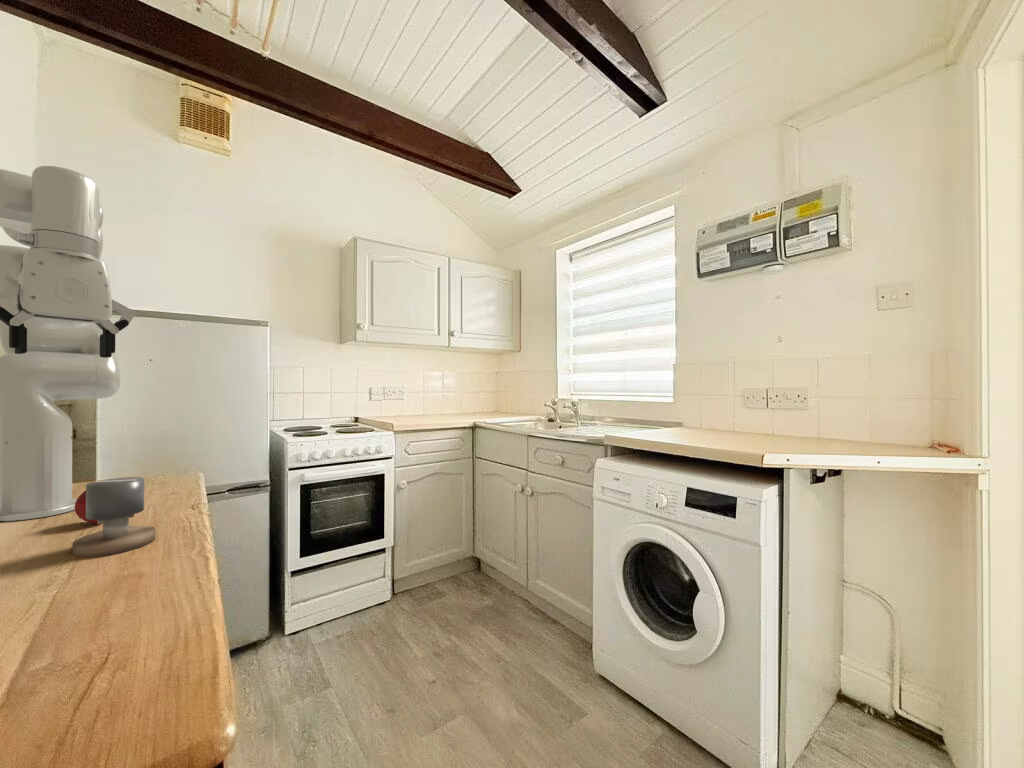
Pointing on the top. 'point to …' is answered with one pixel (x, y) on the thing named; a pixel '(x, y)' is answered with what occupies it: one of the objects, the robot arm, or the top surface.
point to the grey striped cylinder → (114, 498)
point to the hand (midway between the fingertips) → (65, 355)
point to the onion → (82, 508)
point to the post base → (114, 538)
